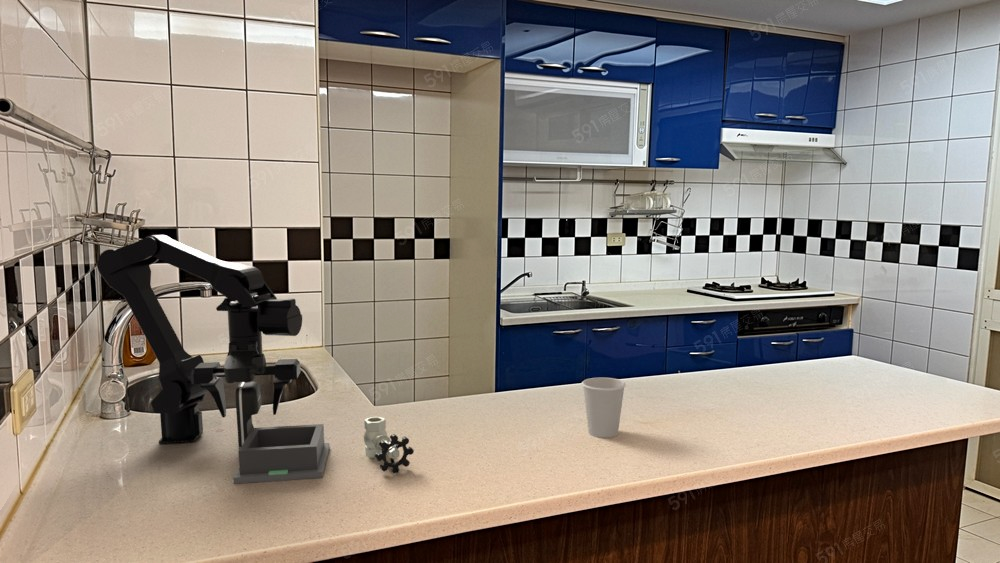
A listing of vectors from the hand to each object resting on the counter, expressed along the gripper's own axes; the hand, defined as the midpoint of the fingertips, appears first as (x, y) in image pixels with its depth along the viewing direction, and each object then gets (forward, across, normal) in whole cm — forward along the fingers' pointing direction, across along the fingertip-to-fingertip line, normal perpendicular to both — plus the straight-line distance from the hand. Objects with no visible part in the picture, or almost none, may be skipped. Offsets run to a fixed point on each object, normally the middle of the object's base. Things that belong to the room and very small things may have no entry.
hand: (249, 415), depth 133 cm
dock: (+5, +8, -13) cm, 16 cm away
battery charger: (+5, 0, 0) cm, 5 cm away
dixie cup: (+5, +67, -7) cm, 68 cm away
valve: (+6, +25, -15) cm, 30 cm away
